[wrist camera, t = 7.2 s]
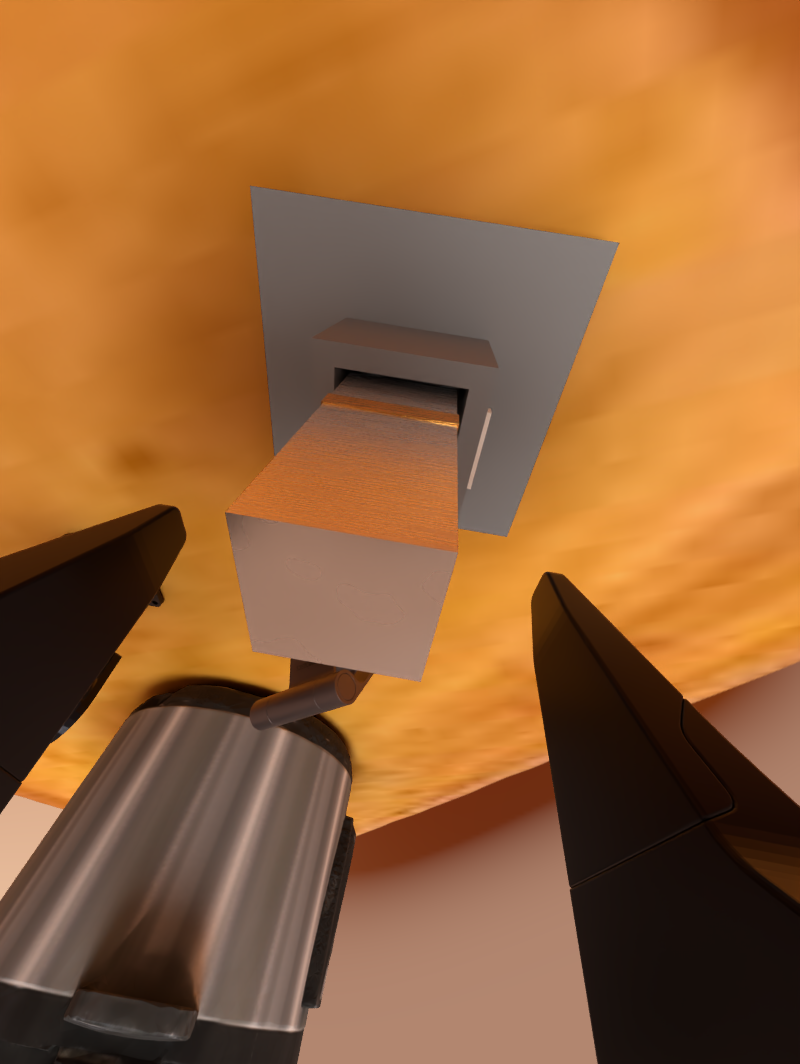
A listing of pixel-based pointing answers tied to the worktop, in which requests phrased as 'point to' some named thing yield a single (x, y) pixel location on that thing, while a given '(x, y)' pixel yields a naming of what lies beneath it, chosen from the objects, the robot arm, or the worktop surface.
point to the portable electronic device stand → (309, 694)
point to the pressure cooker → (182, 893)
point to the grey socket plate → (427, 324)
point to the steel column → (354, 530)
